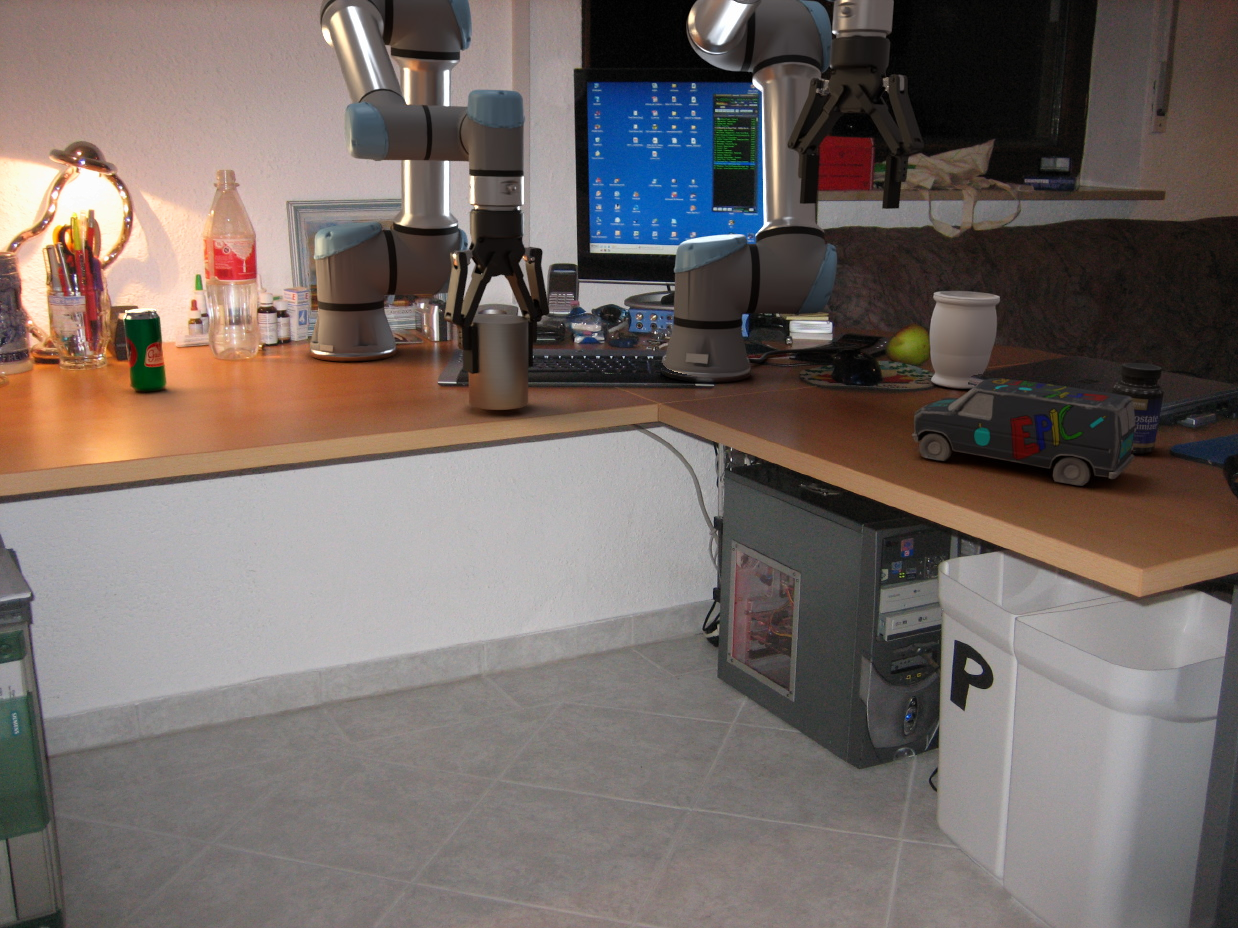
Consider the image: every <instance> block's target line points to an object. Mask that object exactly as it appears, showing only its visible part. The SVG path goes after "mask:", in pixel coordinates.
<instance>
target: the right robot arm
mask: <svg viewBox="0 0 1238 928" xmlns="http://www.w3.org/2000/svg"><path fill="white" fill-rule="evenodd" d="M826 1H828V2H831V3H833V14H832V25H831V21H830V17H829V13H828V11H827V10H826V8H825V6H823V5H822V3H820V2H819V1H815V0H695V2H694V4H693V5H692V6H691V9H690V11H689V13H688V15H687V19H686V25H685V26H686V35H687V39H688V42H689V44H690V46H691V48H692V49H693V50H694V52H695V53H696V54H697V55H698V56H699V57H700V58H701V59H703V60H704V61H705V62H707V63H709V64H710V65H712V66H714V67H716V68H719V69H722V70H725V71H731V72H748V73H750V72H751V73H752V84H753V86H754V87H755V88H756V89H757V90H758V91H760V93H761V119H762V120H761V121H762V122H761V123H762V125H761V126H762V179H763V180H762V181H763V186H762V187H763V188H762V189H763V226H762V227H761V228H760V229H759V230H758V231H757V233H755V237H754V238H755V239H754V240H755V241H754V243H748V239H747V235H745V234H742V233H741V234H738V233H733V234H717V235H708V236H701V237H696V238H691V239H687V240H685V241H682V242H680V244H679V245H678V247H676V254H675V262H674V263H675V264H674V268H673V273H675V274H674V296H673V297H674V298H673V320H672V321H673V322H672V323H673V324H672V331H671V334H670V336H669V339H668V342H667V346H666V352H665V355H663V356H662V359H661V363H663V365H664V366H665V367H666V368H667V369H669V370H672V371H674V372H678V373H682V374H687V375H692V376H697V377H690V376H682V375H676V374H672V373H669V372H666V371H664V370H662V368H661V367H660V373H661V374H662V375H663V376H665V377H667V378H671V379H674V380H680V381H683V382H684V381H685V382H695V383H731V382H738V381H742V380H746V379H748V378H749V377H750V376H751V364H759V363H763V362H764V361H765V360H766V358H768V357H770V356H775V355H785V354H803V353H822V352H838V351H837V350H839V349H844V348H849V347H857V346H859V344H854V345H848V346H834V347H832V346H831V347H810V348H792V349H791V348H789V349H788V348H787V349H776V350H770V351H767V352H765V353H763V354H762V355H761V357H760V358H750V357H748V353H747V349H746V343H745V340H744V339H745V338H744V336H743V315H744V314H754V315H755V314H758V315H759V314H761V315H763V314H764V315H795V316H799V315H809V314H810V315H811V314H812V315H813V314H818V313H820V312H821V311H823V310H824V309H825V308H826V306H827V305H828V303H829V301H830V298H831V297H832V293H833V289H834V285H835V283H836V282H835V281H836V275H837V268H838V254H837V248H836V246H835V245H834V244H831V243H826V235H825V234H826V233H825V230H824V229H823V228H822V227H821V226H819V225H818V224H817V223H816V204H817V198H818V185H819V184H818V183H819V169H820V154H818V152H817V149H818V148H819V147H820V146H821V144H822V142H823V141H824V140H825V139H826V137H827V136H828V134H829V133H830V132H831V131H832V129H833V128H834V126H835V125H836V123H837V122H838V120H839V119H840V118H841V117H843V116H844V115H845V114H856V113H860V114H867V115H868V116H869V117H870V118H871V120H872V121H873V123H874V125H875V126H876V128H877V130H878V131H879V133H880V135H881V137H882V139H883V141H884V142H885V144H886V145H887V146H888V148H889V150H890V153H889V156H885V169H884V180H883V194H882V195H883V196H882V204H881V205H882V206H881V209H885V210H891V209H892V210H893V209H894V210H897V209H900V202H901V190H902V183H906V181H907V179H908V166H909V158H910V156H911V155H912V154H914V153H917V152H921V151H923V150H924V148H925V144H924V141H923V137H922V134H921V131H920V128H919V125H918V122H917V118H916V116H915V112H914V108H913V106H912V102H911V100H910V97H909V93H908V92H909V90H908V89H909V88H908V87H909V86H908V85H909V84H908V83H909V81H908V76H907V75H905V74H890V75H889V77H887V75H886V71H887V68H888V67H889V62H890V52H891V51H890V49H891V41H890V39H889V38H888V37H887V36H889V35H891V33H892V32H893V31H892V29H893V18H894V17H893V15H894V2H895V1H894V0H826ZM832 34H833V35H834V36H836V37H835V38H833V35H832ZM829 67H830V70H831V76H830V78H829V79H828V78H822V74H824V73H825V72H826V71H827V70H828V69H829ZM885 92H887V94H888V96H889V97H888V98H889V102H890V105H891V108H892V111H893V114H894V117H895V120H894V118H893V116H892V115H891V112H889V106H888V105H887V103H886V101H885V100H884V98H883V95H884V93H885ZM829 94H830V97H829V99H828V100H827V102H826V99H827V96H828V95H829ZM825 102H826V103H825ZM824 104H825V105H824ZM822 109H823V110H822ZM856 345H857V346H856ZM703 377H704V378H703Z"/></svg>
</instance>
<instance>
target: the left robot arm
mask: <svg viewBox="0 0 1238 928" xmlns="http://www.w3.org/2000/svg"><path fill="white" fill-rule="evenodd" d="M471 15H472V14H471V8H470V2H469V0H322V1H321V4H320V9H319V25H320V28H321V31H322V35H323V37H324V40H325V42H326V43H327V44H328V46H329V48H331V49H333V51H334V52H335V56H336V58H337V62H338V64H339V68H340V71H341V74H342V77H343V80H344V84H345V87H346V90H347V93H348V96H349V100H350V102H351V103H350V104H348V105H346V107H345V111H344V122H343V123H344V125H343V126H344V138H345V144H346V150H347V152H348V154H349V155H350V156H351V157H352V158H354V159H358V160H370V161H371V160H372V161H374V162H381V161H400V179H401V180H400V182H401V183H400V187H401V188H400V194H401V199H400V201H401V204H400V205H401V208H400V210H399V212H398V213H397V214H396V215H395V216H394V217H392V229H383V227H382V225H381V223H380V222H379V221H364V222H351V223H345V224H337V225H333V226H329V227H325V228H322V229H319V230H318V231H317V232H316V234H315V235H314V254H313V259H314V261H315V275H316V276H315V278H316V297H317V310H318V311H317V316H316V321H315V323H314V327H313V331H312V335H311V338H310V342H309V355H310V356H311V357H312V358H314V359H317V360H323V361H331V362H366V361H376V360H382V359H387V358H390V357H394V356H395V355H396V354H397V344H396V339H395V337H394V333H393V331H392V329H391V325H390V323H389V320H388V317H387V314H386V311H385V296H409V295H410V296H411V295H413V296H414V295H432V296H437V295H441V294H447V296H446V303H445V308H444V315H443V319H444V321H445V322H448V323H450V324H453V325H455V326H456V329H457V347H458V349H459V350H462V371H463V372H466V373H468V374H469V373H471V374H476V373H477V328H476V327H473V326H471V324H472V322H473V319H474V317H475V316H476V315H477V311H478V309H479V307H480V304H481V301H482V298H483V296H484V294H485V291H486V288H487V285H489V283H490V282H491V281H492V278H493V277H494V278H495V277H496V278H497V277H499V276H504V278H505V279H506V280H507V282H508V284H509V286H510V288H511V291H512V294H513V295H514V298H515V301H516V303H517V305H518V307H519V310H520V312H521V314H522V315H521V316H523V317H526V318H528V368H531V367H534V343H537V340H538V323H540V322H541V321H542V319H543V317H547V316H549V315H550V307H549V301H548V295H547V289H546V285H545V278H544V273H543V266H542V263H543V262H542V261H543V253H544V251H543V249H542V248H540V247H534V246H528V247H527V246H525V244H524V240H523V237H524V235H525V212H524V211H523V209H520V207H522V206H524V204H525V203H524V202H525V199H524V198H525V190H524V189H525V187H524V186H525V185H524V184H525V180H524V179H525V178H524V176H525V171H524V169H525V123H526V116H525V112H524V111H525V110H524V97H523V96H522V94H521V93H520V92H518V91H516V90H509V89H507V90H505V89H473V90H471V91H470V92H469V93H468V96H467V106H457V105H456V106H455V105H452V71H453V69H454V68H456V67H457V65H458V64H459V63H460V62H461V52H463V51H465V50H468V49H469V48H470V46H471V43H472V35H473V32H472V31H473V30H472V29H473V26H472V16H471ZM386 46H390V54H389V51H388V49H387V47H386ZM391 59H392V60H391ZM392 61H394V63H395V64H396V65H397V66H398V67H399V68H398V69H399V79H398V75H397V74H396V71H395V68H394V66H393V63H392ZM451 162H468V173H469V175H468V204H470V206H473V208H471V209H470V211H469V234H470V239H471V241H470V245H469V239H468V235H467V232H465V230H463V229H461V228H460V227H459V220H458V218H456V216H454V214H453V213H452V212H451ZM468 246H469V247H468ZM522 259H523V260H524V263H525V265H524V266H525V271H526V277H527V283H528V286H527V284H526V280H525V279H524V277H525V276H524V272H523V270H522V267H521V265H520V262H521V261H522ZM471 261H473V263H474V266H473V269H472V272H471V275H470V278H471V279H470V282H469V284H468V286H467V279H468V275H469V265H470V264H471ZM466 286H467V290H466ZM528 287H529V289H528Z"/></svg>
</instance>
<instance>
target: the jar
mask: <svg viewBox="0 0 1238 928" xmlns="http://www.w3.org/2000/svg"><path fill="white" fill-rule="evenodd" d="M1000 297H1001V296H999V295H996V294H994V293H986V292H980V291H979V292H978V291H967V290H966V291H965V290H942V291H935V292H933V300H934V301H935V306H934V308H933V311H932V315H931V319H930V325H929V348H930V361H931V365H932V369H933V371H934V374H933V375H932V377H931V379H930V381H931V382H932V383H933V384H934V385H937V386H940V387H944V388H951V389H960V390H962V389H963V390H971V389H972V388H974V387H975V386H974V385H968V382H969V378H970V377H971V376H973V375H978V374H982V375H983V374H984V373H985V371H986V370H987V367H988V366H989V362H990V360H991V357H992V351H993V349H994V346H995V341H996V337H997V329H998V315H997V309H996V306H997V305H998V304H1000V302H1001V298H1000Z"/></svg>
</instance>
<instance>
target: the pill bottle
mask: <svg viewBox="0 0 1238 928" xmlns="http://www.w3.org/2000/svg"><path fill="white" fill-rule="evenodd" d="M1162 371H1163V367H1161V366H1158V365H1155V364H1149V363H1142V362H1141V363H1140V362H1126V363H1122V365H1121V369H1120V375H1121V380H1119V381H1116V382H1115V383H1114V384H1113V385H1112V388H1111V393H1112V394H1118V395H1125V396H1130V397H1131V398H1133V405H1134V415H1135V423H1136V431H1135V436H1134V441H1133V450H1132V451H1131V454H1140V455H1141V454H1148V453H1151V452H1153V451H1154V450H1155V448H1156V440H1157V435H1158V428H1159V424H1160V419H1161V418H1160V417H1161V412H1162V407H1163V399H1164V395H1165V391H1164V389H1163V387H1162V386H1161V385H1159V383H1158V381H1159V380H1160V379H1161V377H1162Z"/></svg>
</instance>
